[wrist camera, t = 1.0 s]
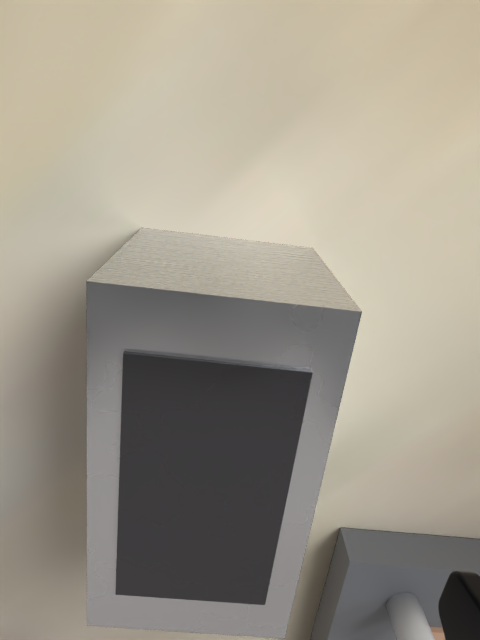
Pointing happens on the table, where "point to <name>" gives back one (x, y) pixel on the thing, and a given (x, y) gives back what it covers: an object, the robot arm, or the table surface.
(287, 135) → the table surface
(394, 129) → the table surface
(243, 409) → the drive
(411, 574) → the tray
